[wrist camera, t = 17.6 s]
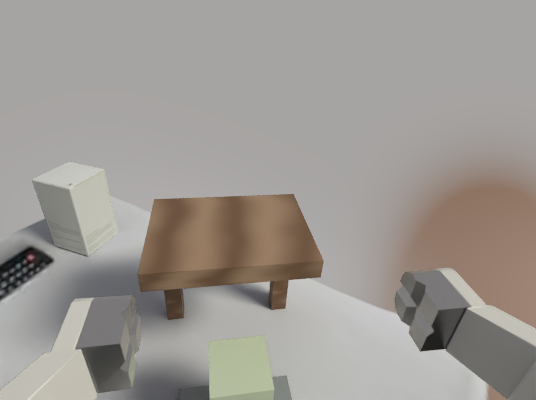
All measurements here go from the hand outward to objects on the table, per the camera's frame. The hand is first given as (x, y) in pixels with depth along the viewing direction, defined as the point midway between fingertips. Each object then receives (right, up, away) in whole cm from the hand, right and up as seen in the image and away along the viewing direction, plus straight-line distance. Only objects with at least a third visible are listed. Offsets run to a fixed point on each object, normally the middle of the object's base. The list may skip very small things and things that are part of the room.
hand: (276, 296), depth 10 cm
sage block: (-3, -20, +24) cm, 31 cm away
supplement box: (-31, -4, +49) cm, 58 cm away
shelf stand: (-5, -15, +33) cm, 37 cm away
